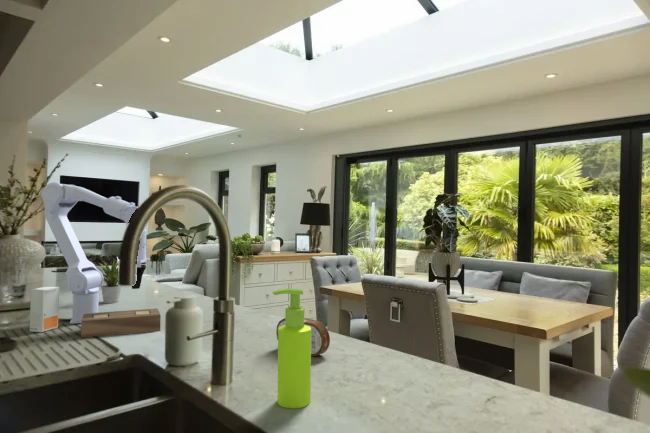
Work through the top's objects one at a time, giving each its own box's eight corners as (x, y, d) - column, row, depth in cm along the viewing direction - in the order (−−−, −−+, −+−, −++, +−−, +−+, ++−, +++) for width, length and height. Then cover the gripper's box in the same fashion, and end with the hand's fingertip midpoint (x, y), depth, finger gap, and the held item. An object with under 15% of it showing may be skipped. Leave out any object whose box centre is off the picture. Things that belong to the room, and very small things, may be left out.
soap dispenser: (272, 395, 81) (273, 286, 81) (309, 394, 82) (310, 286, 82) (270, 409, 75) (272, 292, 76) (311, 408, 76) (312, 292, 76)
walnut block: (83, 329, 128) (83, 313, 128) (157, 322, 136) (157, 308, 136) (81, 337, 119) (81, 321, 119) (160, 330, 127) (160, 314, 127)
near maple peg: (93, 329, 126) (93, 315, 126) (107, 327, 128) (107, 314, 128) (93, 332, 123) (93, 317, 123) (107, 330, 124) (107, 316, 124)
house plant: (95, 298, 176) (96, 257, 176) (133, 297, 179) (133, 257, 179) (85, 305, 162) (85, 261, 162) (125, 304, 165) (126, 260, 165)
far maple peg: (135, 325, 131) (135, 312, 131) (148, 324, 132) (148, 311, 132) (136, 328, 128) (136, 314, 128) (149, 327, 129) (149, 313, 129)
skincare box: (42, 332, 123) (42, 289, 124) (29, 331, 124) (29, 289, 124) (59, 327, 129) (59, 286, 130) (46, 326, 130) (47, 286, 130)
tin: (330, 357, 105) (330, 321, 105) (322, 360, 102) (323, 323, 102) (282, 346, 113) (282, 313, 113) (274, 348, 111) (274, 315, 111)
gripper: (152, 245, 133) (151, 291, 133) (148, 243, 146) (147, 284, 146) (126, 246, 130) (125, 292, 130) (124, 243, 143) (124, 285, 143)
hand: (135, 288), depth 137 cm, fingers closed
